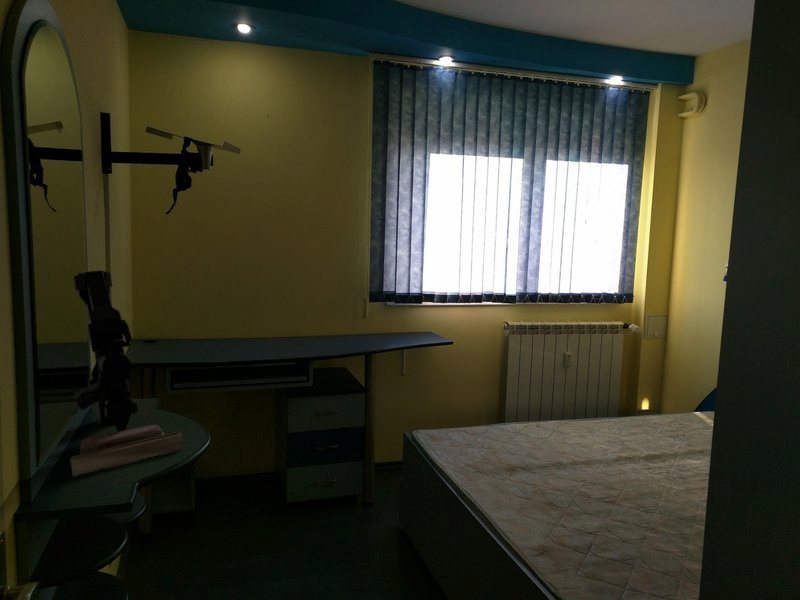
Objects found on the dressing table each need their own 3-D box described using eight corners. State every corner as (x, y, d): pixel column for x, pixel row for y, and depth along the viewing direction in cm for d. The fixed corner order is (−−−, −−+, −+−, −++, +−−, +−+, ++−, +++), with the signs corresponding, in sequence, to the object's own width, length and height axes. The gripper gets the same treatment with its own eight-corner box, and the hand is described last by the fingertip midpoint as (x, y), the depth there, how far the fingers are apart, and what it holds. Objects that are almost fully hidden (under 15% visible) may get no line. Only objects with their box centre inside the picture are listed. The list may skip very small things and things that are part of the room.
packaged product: (80, 449, 124) (77, 435, 132) (83, 471, 125) (80, 455, 133) (169, 429, 133) (161, 417, 142) (172, 449, 134) (164, 436, 142)
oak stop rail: (72, 473, 122) (69, 456, 121) (181, 446, 133) (180, 430, 133) (73, 477, 120) (70, 459, 120) (183, 449, 132) (182, 433, 131)
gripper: (70, 369, 138) (79, 432, 141) (75, 386, 122) (86, 457, 125) (121, 360, 144) (129, 421, 146) (133, 376, 128) (142, 443, 131)
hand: (121, 435), depth 137 cm, fingers closed
